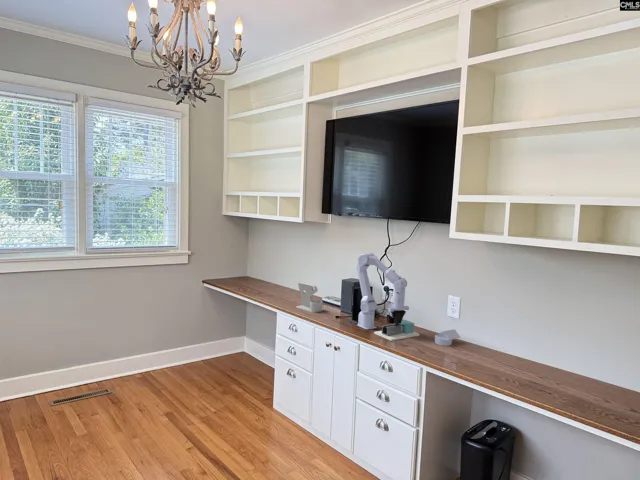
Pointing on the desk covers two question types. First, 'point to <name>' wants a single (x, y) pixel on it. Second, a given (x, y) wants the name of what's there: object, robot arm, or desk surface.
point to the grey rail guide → (391, 329)
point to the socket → (407, 326)
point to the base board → (398, 336)
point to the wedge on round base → (446, 337)
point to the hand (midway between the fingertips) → (397, 323)
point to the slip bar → (401, 326)
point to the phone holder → (309, 298)
